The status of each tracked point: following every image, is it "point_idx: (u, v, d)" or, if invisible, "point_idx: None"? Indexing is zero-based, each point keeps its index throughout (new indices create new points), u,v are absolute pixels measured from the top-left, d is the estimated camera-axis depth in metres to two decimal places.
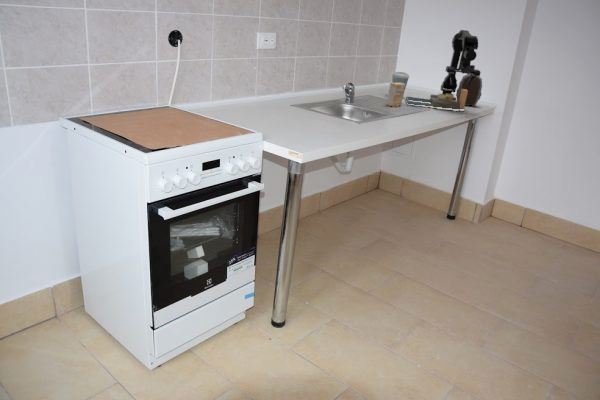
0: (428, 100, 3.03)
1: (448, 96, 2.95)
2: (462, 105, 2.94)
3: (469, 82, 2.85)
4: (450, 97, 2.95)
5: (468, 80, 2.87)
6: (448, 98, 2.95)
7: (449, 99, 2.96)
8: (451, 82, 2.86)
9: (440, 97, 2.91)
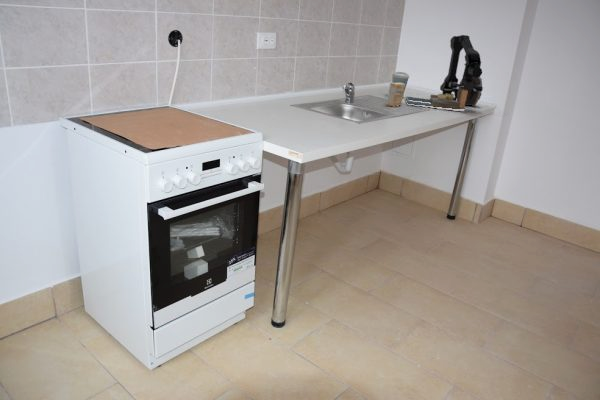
0: (428, 100, 3.03)
1: (448, 96, 2.95)
2: (462, 105, 2.94)
3: (470, 97, 2.93)
4: (450, 97, 2.95)
5: None
6: (448, 98, 2.95)
7: (449, 99, 2.96)
8: (455, 97, 2.94)
9: (440, 97, 2.91)
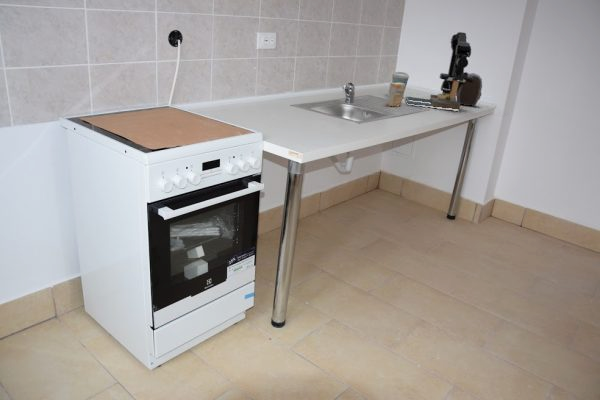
0: (428, 100, 3.03)
1: None
2: (453, 96, 2.93)
3: (458, 88, 2.92)
4: (446, 96, 2.95)
5: None
6: None
7: (445, 98, 2.96)
8: (450, 89, 2.92)
9: (440, 97, 2.91)
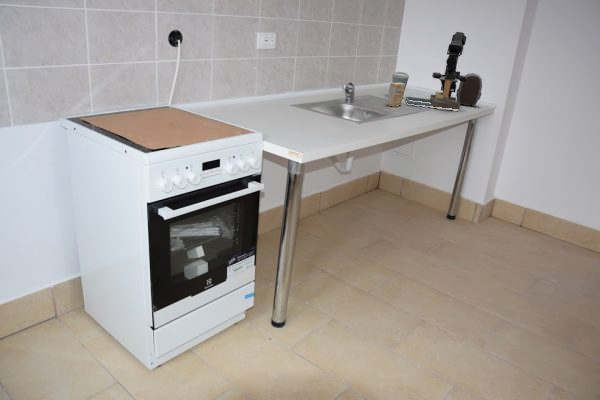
0: (428, 100, 3.03)
1: None
2: (446, 95, 2.93)
3: (450, 87, 2.92)
4: None
5: None
6: None
7: None
8: (442, 88, 2.93)
9: (438, 97, 2.91)
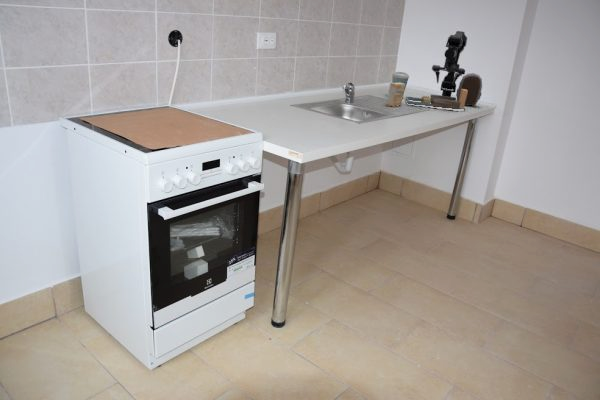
0: None
1: None
2: (462, 105, 2.94)
3: (454, 80, 2.95)
4: None
5: (453, 78, 2.97)
6: None
7: None
8: (437, 80, 2.96)
9: None
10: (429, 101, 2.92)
